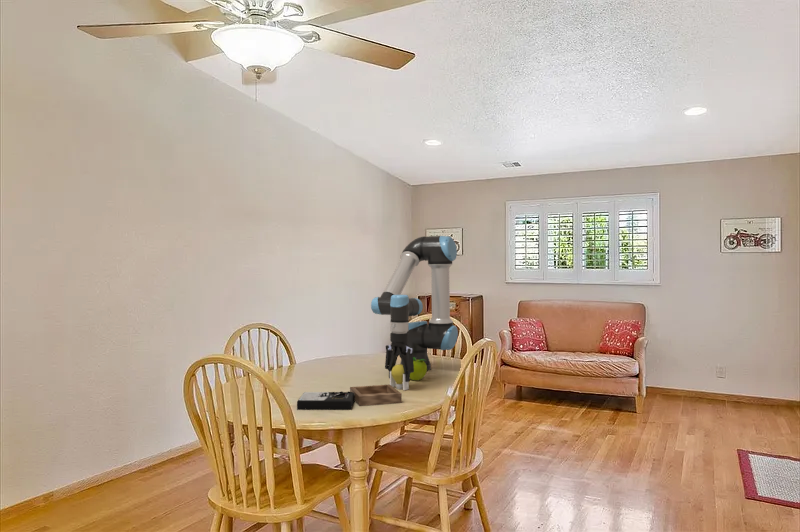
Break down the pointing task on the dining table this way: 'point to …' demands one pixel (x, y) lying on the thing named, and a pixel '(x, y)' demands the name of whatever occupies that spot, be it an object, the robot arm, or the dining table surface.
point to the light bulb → (398, 375)
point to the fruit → (418, 369)
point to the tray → (376, 395)
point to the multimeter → (326, 401)
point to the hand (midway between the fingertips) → (399, 388)
